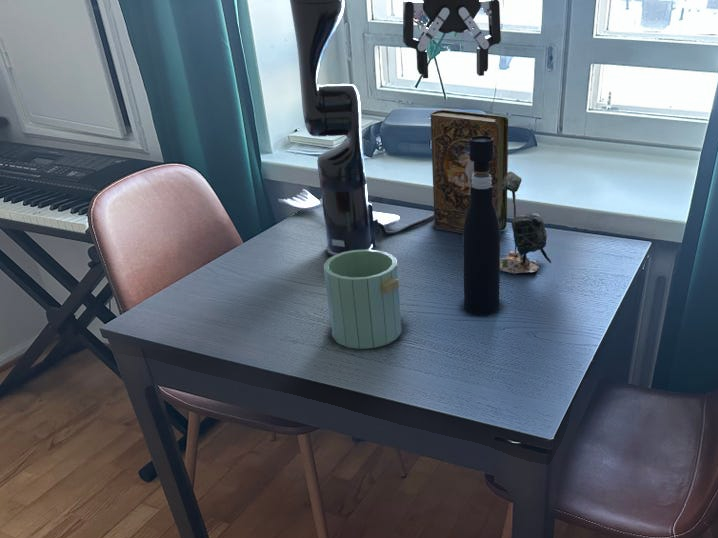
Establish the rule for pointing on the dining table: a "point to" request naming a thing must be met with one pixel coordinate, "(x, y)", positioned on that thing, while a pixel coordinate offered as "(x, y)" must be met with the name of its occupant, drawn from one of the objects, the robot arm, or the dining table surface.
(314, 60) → the robot arm
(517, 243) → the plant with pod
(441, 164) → the book
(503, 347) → the dining table surface
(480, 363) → the dining table surface
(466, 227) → the wine bottle
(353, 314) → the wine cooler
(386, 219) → the serving fork
